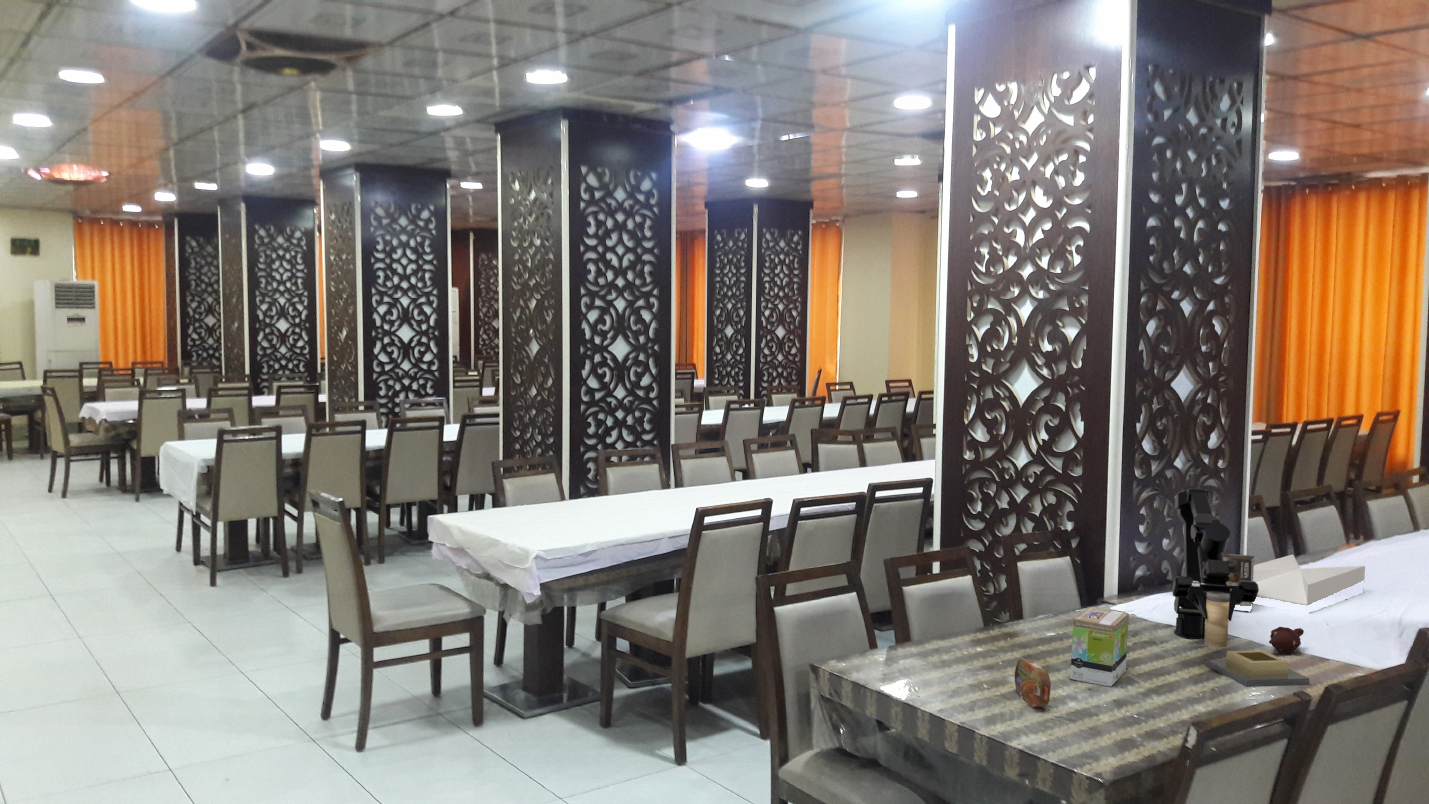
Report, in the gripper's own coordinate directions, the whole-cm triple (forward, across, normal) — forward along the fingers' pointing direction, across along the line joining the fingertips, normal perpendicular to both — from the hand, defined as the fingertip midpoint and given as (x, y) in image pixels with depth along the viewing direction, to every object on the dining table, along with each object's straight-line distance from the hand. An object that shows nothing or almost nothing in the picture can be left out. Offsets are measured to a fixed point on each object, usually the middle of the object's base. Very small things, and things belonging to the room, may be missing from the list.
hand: (1218, 619), depth 261 cm
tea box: (+17, -28, +3) cm, 32 cm away
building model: (-58, +41, +78) cm, 106 cm away
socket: (+8, +10, +11) cm, 17 cm away
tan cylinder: (+4, 0, +6) cm, 7 cm away
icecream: (-8, +21, +28) cm, 36 cm away
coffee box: (-41, +18, +61) cm, 76 cm away
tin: (+34, -44, -14) cm, 57 cm away
